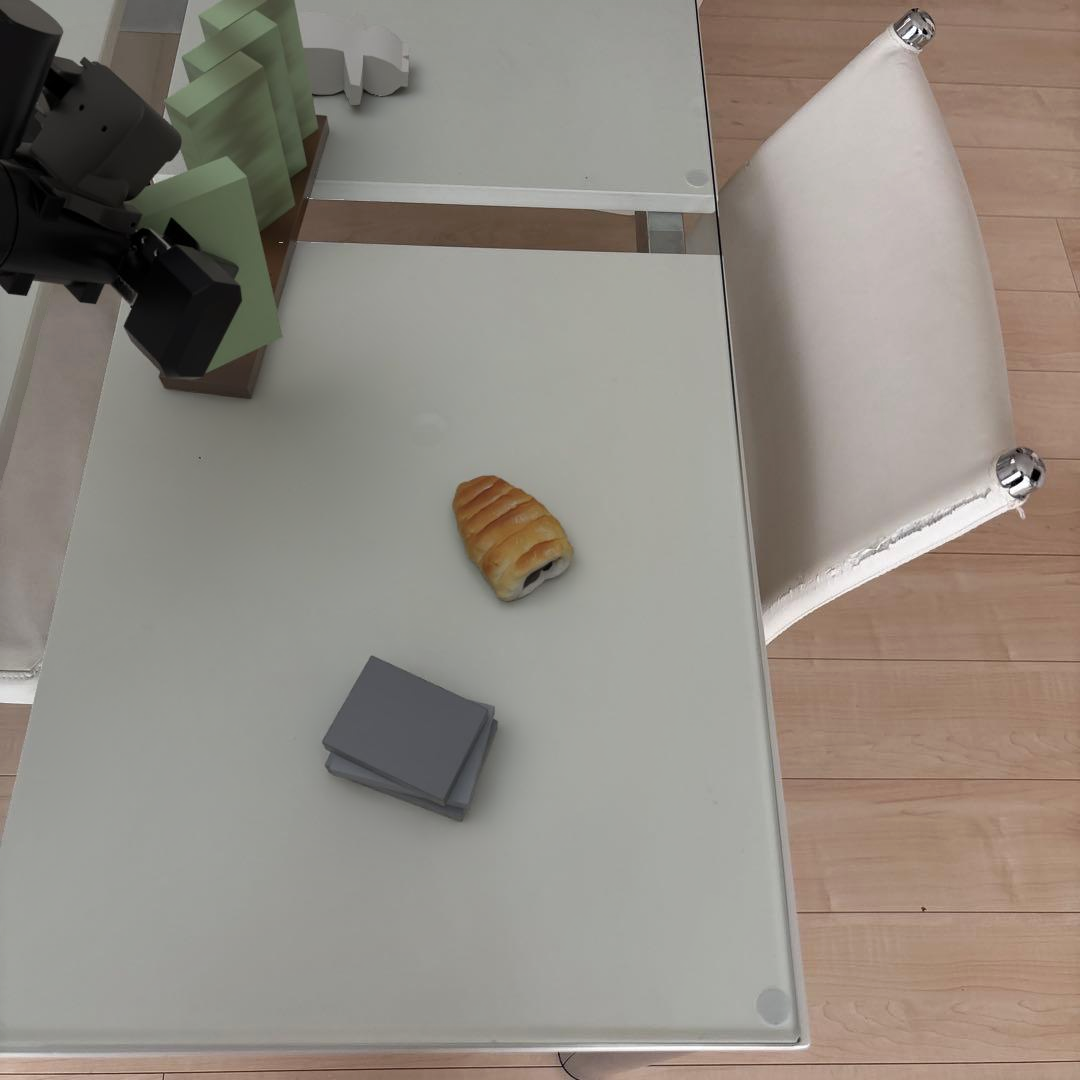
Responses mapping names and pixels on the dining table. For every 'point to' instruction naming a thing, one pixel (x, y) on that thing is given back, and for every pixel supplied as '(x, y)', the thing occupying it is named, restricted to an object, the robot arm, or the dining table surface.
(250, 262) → the green book
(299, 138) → the brown wooden book rack
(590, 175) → the dining table surface
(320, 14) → the white curved block
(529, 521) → the pastry
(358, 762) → the grey books
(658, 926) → the dining table surface
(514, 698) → the dining table surface
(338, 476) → the dining table surface
